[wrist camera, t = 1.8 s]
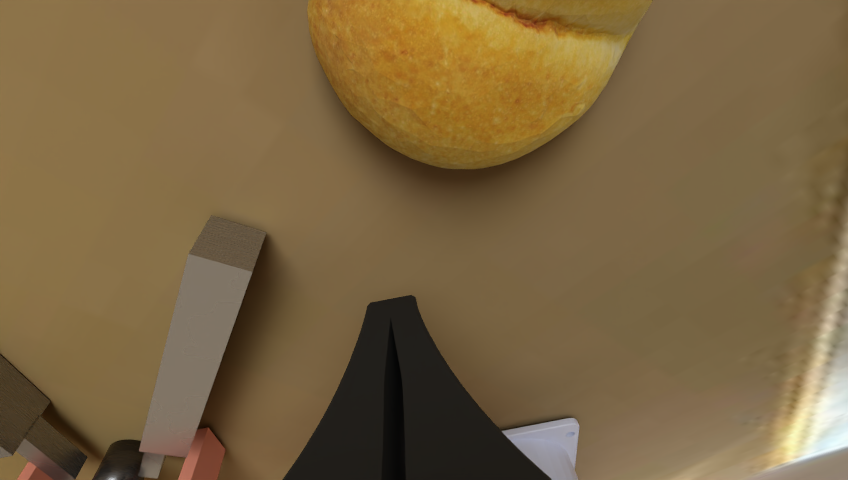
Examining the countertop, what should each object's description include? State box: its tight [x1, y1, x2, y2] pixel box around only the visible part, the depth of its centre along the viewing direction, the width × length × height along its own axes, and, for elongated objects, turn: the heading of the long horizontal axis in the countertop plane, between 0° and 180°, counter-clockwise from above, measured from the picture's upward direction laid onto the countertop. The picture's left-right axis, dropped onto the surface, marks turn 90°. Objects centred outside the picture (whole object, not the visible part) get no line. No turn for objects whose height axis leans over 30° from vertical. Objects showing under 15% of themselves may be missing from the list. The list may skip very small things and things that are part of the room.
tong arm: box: [138, 215, 266, 478], centre depth 17 cm, size 14×2×2 cm, turn 154°
